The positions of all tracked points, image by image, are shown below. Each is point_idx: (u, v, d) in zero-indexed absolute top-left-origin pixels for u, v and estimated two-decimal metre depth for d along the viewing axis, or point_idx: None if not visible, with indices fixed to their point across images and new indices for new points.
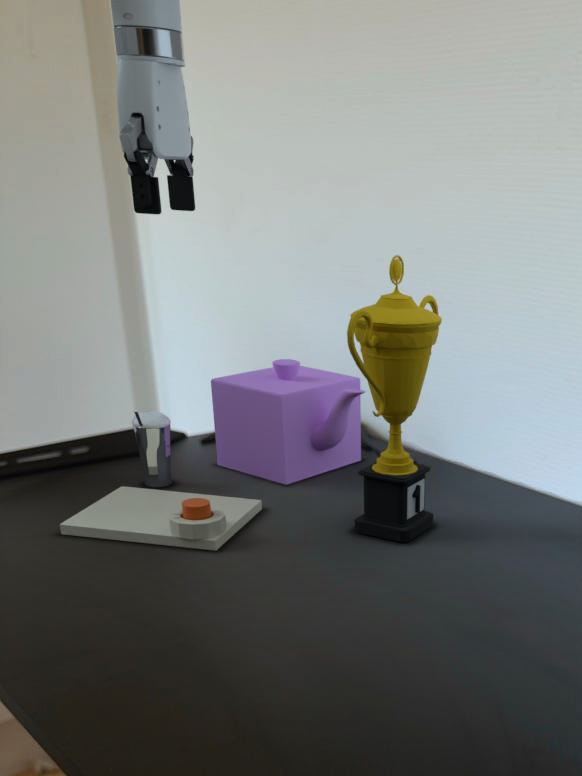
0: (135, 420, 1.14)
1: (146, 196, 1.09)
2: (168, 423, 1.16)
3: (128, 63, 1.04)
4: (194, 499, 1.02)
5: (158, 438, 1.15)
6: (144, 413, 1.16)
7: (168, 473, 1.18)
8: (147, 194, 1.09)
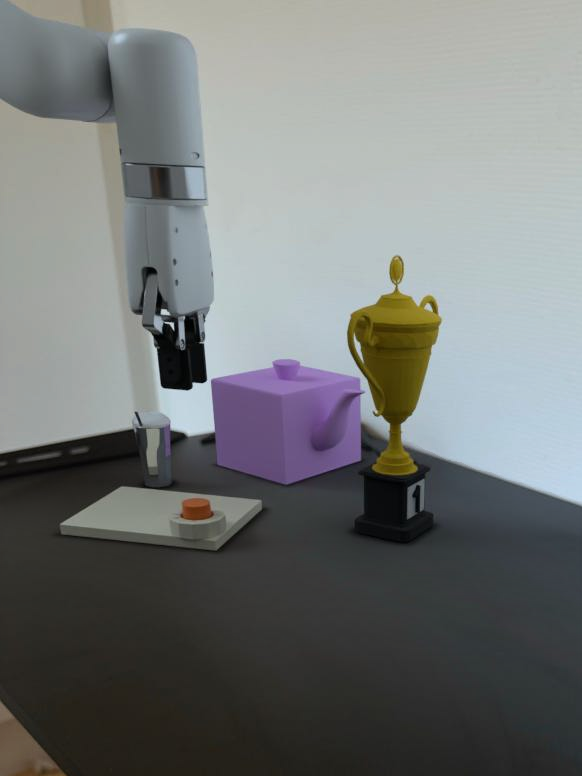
0: (135, 420, 1.14)
1: (175, 371, 0.92)
2: (168, 423, 1.16)
3: (138, 208, 0.84)
4: (194, 499, 1.02)
5: (158, 438, 1.15)
6: (144, 413, 1.16)
7: (168, 473, 1.18)
8: (176, 369, 0.92)
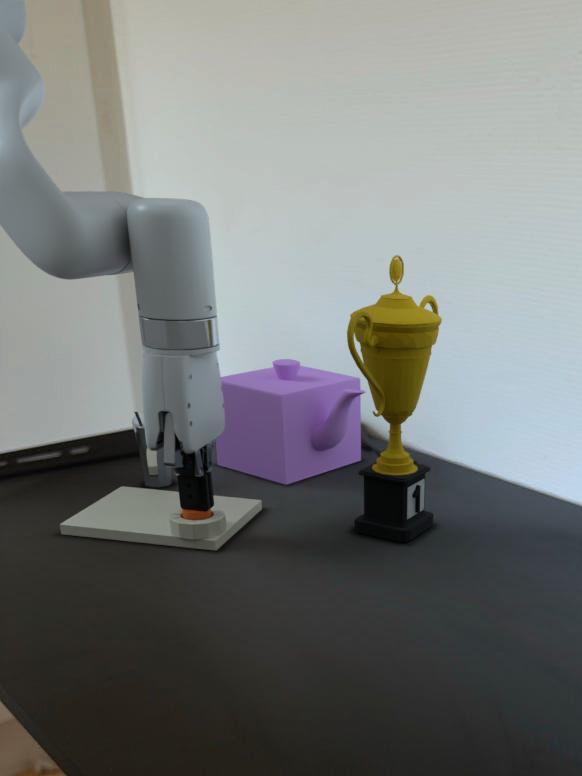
0: (135, 420, 1.14)
1: (194, 496, 0.99)
2: None
3: (155, 359, 0.90)
4: None
5: None
6: None
7: (168, 473, 1.18)
8: (195, 494, 0.99)
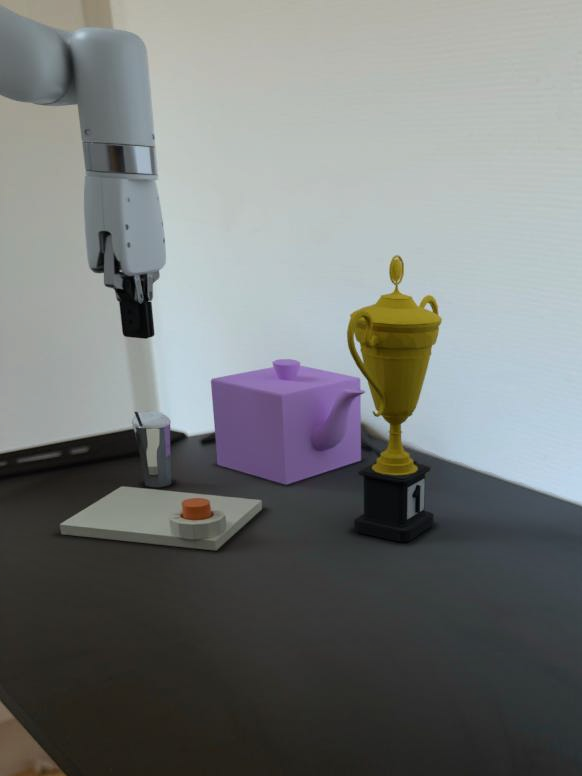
0: (135, 420, 1.14)
1: (134, 321, 1.08)
2: (168, 423, 1.16)
3: (95, 180, 0.98)
4: (194, 499, 1.02)
5: (158, 438, 1.15)
6: (144, 413, 1.16)
7: (168, 473, 1.18)
8: (135, 320, 1.08)
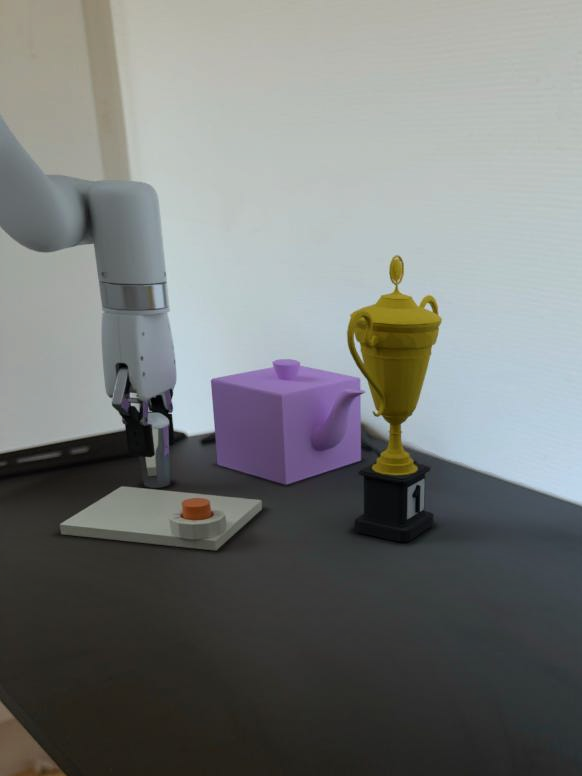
0: None
1: (140, 443, 1.13)
2: (167, 424, 1.15)
3: (112, 318, 1.06)
4: (194, 499, 1.02)
5: (157, 439, 1.15)
6: None
7: (167, 474, 1.18)
8: (141, 441, 1.13)
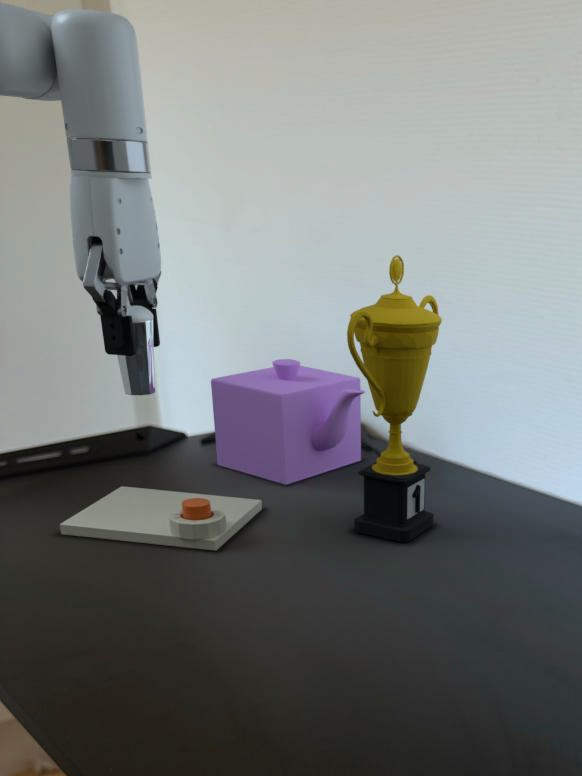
0: None
1: (118, 337, 0.96)
2: (150, 318, 0.98)
3: (82, 180, 0.89)
4: (194, 499, 1.02)
5: (139, 335, 0.98)
6: None
7: (151, 379, 1.01)
8: (119, 335, 0.96)
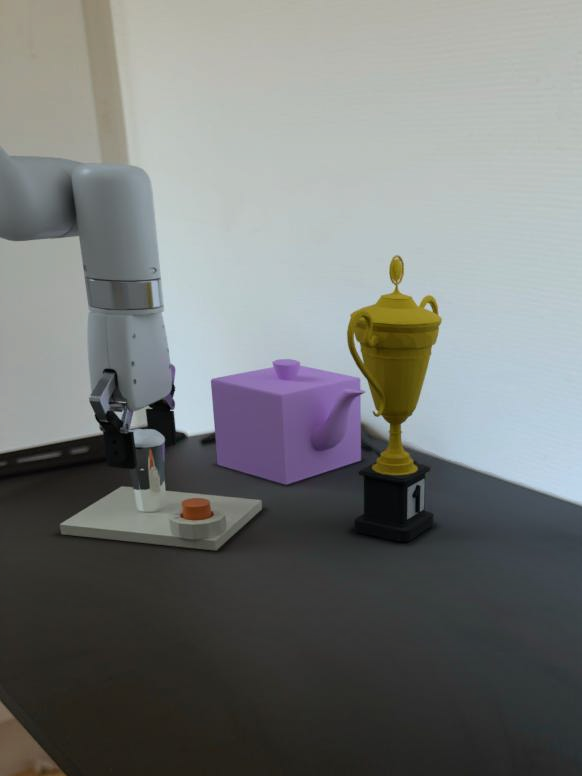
0: None
1: (120, 452, 0.99)
2: (162, 441, 1.04)
3: (99, 318, 0.94)
4: (194, 499, 1.02)
5: (151, 458, 1.04)
6: (135, 430, 1.04)
7: (162, 496, 1.07)
8: (121, 450, 0.99)
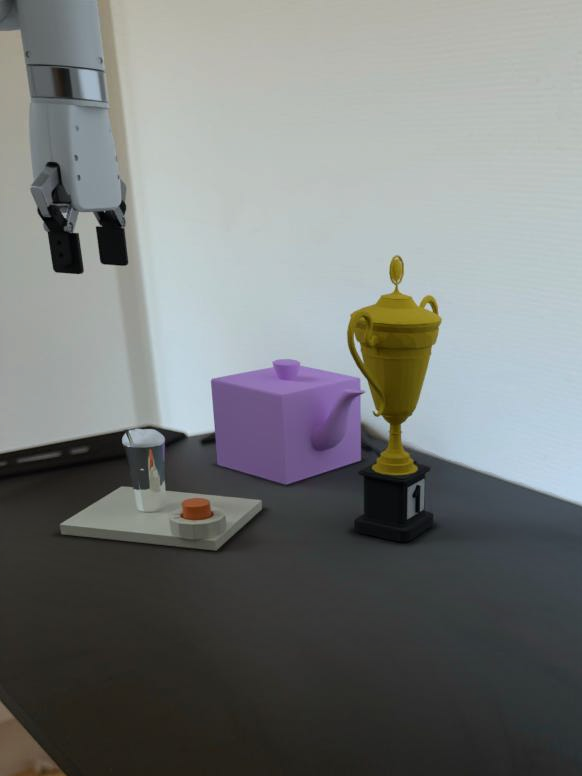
0: (125, 438, 1.03)
1: (65, 254, 0.97)
2: (162, 441, 1.04)
3: (40, 106, 0.92)
4: (194, 499, 1.02)
5: (151, 458, 1.04)
6: (135, 430, 1.04)
7: (162, 496, 1.07)
8: (66, 252, 0.97)
